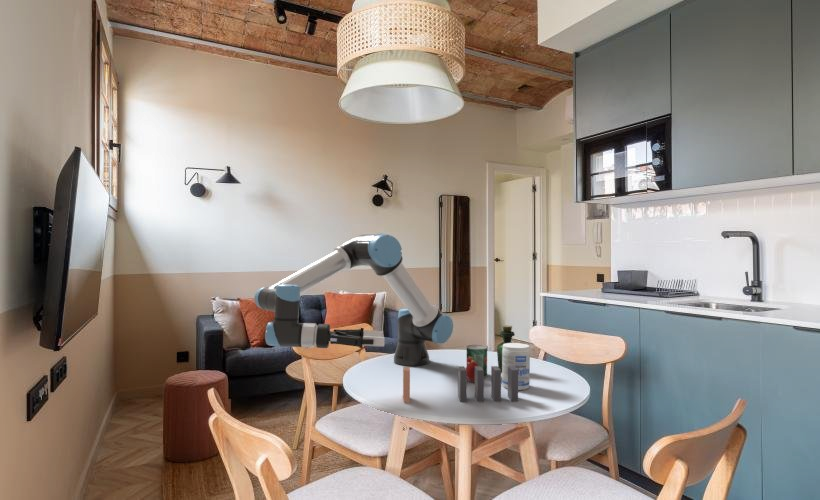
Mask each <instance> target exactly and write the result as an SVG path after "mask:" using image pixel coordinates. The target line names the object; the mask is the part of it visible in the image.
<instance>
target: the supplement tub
mask: <svg viewBox="0 0 820 500" xmlns="http://www.w3.org/2000/svg"><path fill="white" fill-rule="evenodd" d="M502 349H503V350H502V373H501V386H502V387H503V388H505V389H508V366H514V367H515V368H516V369H518V391H523V390H527V389H529V387H530V380H531V379H530V376H531V375H530V374H531V373H530V372H531V371H530V370H531V369H530V368H531V367H530V366H531V364H530V363H531V359H530V357H531V356H530V355H531V351H530V345H529V344H526V343H520V342H512V343H505V344H503V348H502Z"/></svg>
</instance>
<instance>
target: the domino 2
mask: <svg viewBox="0 0 820 500" xmlns="http://www.w3.org/2000/svg"><path fill="white" fill-rule="evenodd" d="M484 382H485V378H484V370H483V369H482V367H481V366H475V382H474V398H475V400H476V402H477V403H481V402H482V403H484V400H485V398H484V395H485V394H484V393H485V392H484V390H485V388H484V387H485V385H484V384H485V383H484Z"/></svg>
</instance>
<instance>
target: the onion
mask: <svg viewBox="0 0 820 500" xmlns="http://www.w3.org/2000/svg"><path fill="white" fill-rule="evenodd" d="M475 366H478V364H476V363H475V362H474V361H473V360H471V363H470V364H469V365H468V366H467V365H466V366H465V369H466V370H467V380H469V381H470V382H471V383H475Z"/></svg>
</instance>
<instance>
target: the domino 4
mask: <svg viewBox="0 0 820 500" xmlns="http://www.w3.org/2000/svg"><path fill="white" fill-rule="evenodd" d="M507 397H508V399H509V400H510V402H519V390H518V369H516V368H515V367H514V366H508V388H507Z"/></svg>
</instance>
